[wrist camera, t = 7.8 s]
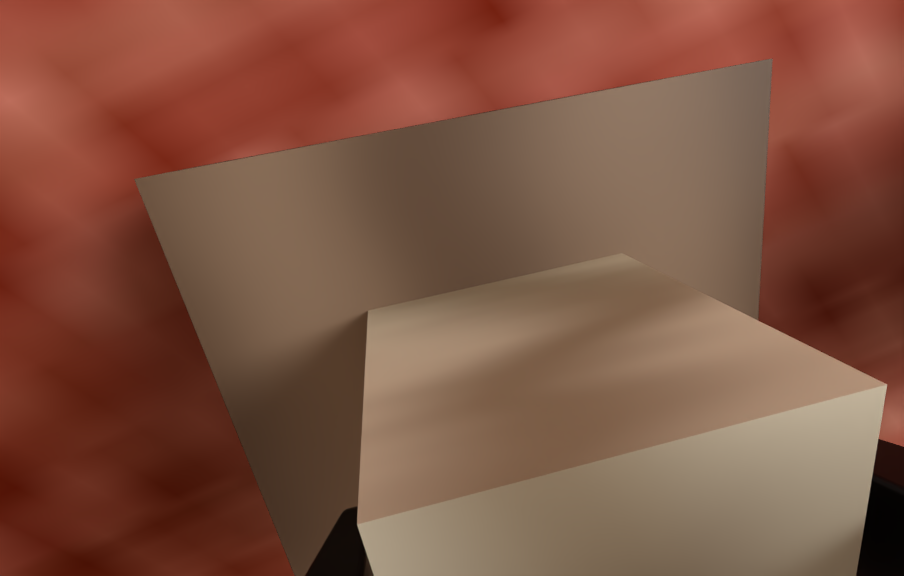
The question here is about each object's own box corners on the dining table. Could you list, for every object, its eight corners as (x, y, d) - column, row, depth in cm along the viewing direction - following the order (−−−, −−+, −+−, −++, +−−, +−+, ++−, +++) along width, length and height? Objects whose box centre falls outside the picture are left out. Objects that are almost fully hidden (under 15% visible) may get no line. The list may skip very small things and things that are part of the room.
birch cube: (622, 253, 9) (887, 384, 4) (634, 458, 11) (833, 713, 6) (367, 310, 9) (357, 525, 4) (422, 515, 10) (459, 834, 6)
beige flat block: (648, 81, 12) (772, 59, 8) (659, 430, 16) (747, 524, 12) (216, 162, 11) (133, 179, 7) (335, 513, 15) (322, 642, 11)
